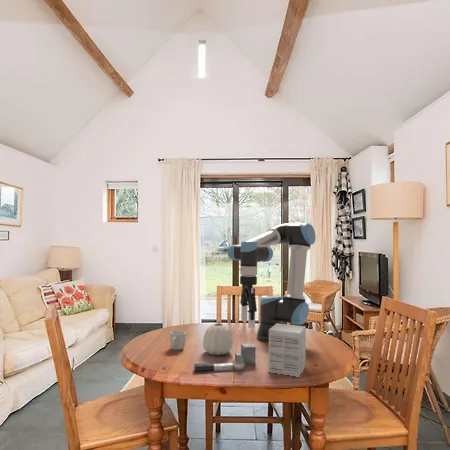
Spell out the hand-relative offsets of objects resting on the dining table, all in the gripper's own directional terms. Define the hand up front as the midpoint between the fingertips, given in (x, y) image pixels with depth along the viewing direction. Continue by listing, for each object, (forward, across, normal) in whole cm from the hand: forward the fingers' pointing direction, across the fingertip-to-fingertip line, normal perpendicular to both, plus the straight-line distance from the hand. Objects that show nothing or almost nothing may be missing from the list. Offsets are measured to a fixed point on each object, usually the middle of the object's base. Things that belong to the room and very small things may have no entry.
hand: (247, 323), depth 158 cm
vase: (+17, -15, -11) cm, 25 cm away
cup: (+17, -22, -30) cm, 41 cm away
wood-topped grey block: (+17, 0, 0) cm, 17 cm away
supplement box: (+17, +11, +14) cm, 25 cm away
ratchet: (+17, +7, -14) cm, 23 cm away
